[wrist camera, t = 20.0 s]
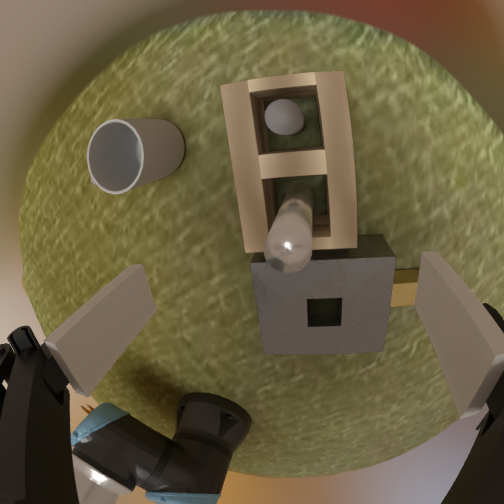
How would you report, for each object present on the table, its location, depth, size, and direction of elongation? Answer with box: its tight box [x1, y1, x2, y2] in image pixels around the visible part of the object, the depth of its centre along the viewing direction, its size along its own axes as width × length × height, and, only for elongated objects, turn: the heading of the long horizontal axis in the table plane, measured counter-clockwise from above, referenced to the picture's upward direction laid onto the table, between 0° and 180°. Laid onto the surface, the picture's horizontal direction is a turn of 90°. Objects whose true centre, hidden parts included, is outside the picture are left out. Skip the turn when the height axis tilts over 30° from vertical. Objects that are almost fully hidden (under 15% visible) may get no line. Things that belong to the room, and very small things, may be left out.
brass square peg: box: [390, 269, 419, 307], centre depth 29 cm, size 10×4×4 cm, turn 98°
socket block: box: [250, 235, 396, 355], centre depth 30 cm, size 14×12×6 cm
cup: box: [87, 119, 185, 194], centre depth 27 cm, size 7×10×9 cm
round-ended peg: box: [264, 180, 312, 273], centre depth 22 cm, size 3×3×16 cm
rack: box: [220, 71, 357, 253], centre depth 23 cm, size 10×15×10 cm, turn 8°
